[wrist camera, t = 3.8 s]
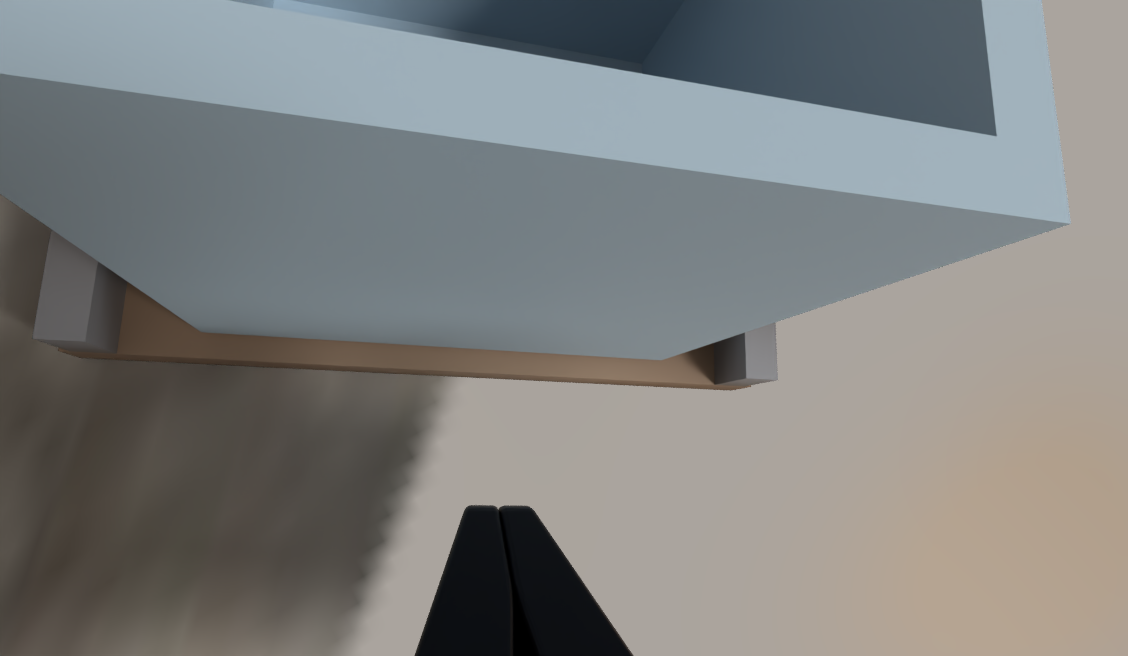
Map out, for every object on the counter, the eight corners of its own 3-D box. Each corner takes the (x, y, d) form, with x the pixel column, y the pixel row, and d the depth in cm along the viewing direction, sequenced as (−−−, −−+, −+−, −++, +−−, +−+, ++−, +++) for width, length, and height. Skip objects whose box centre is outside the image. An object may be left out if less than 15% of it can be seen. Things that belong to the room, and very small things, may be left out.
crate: (661, 360, 16) (1071, 223, 7) (200, 331, 13) (-219, 42, 4) (658, 58, 18) (988, -408, 8) (244, -18, 15) (16, -828, 6)
